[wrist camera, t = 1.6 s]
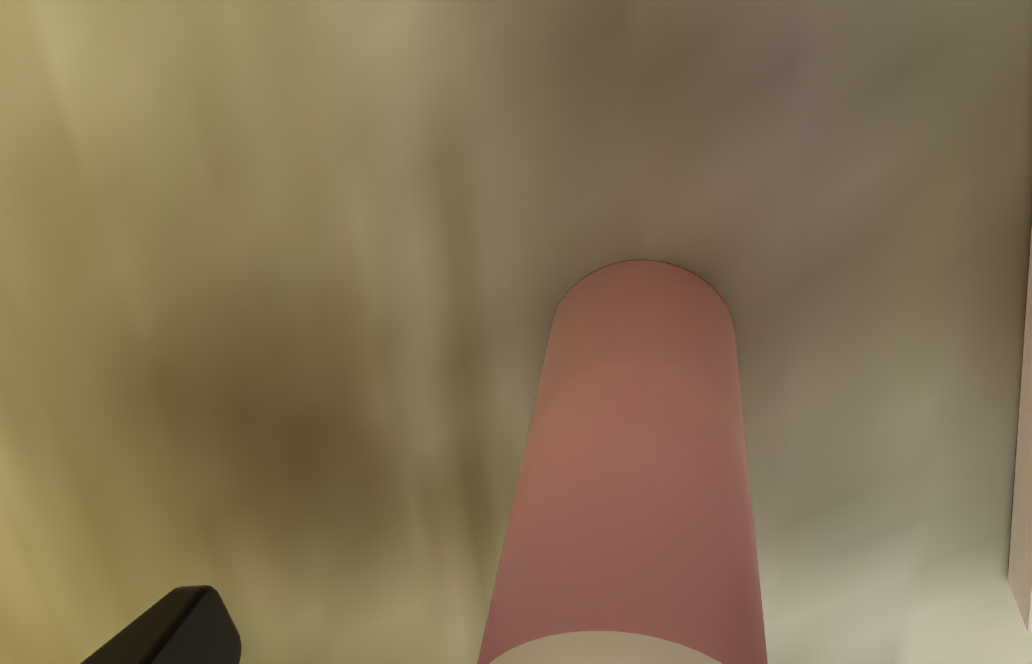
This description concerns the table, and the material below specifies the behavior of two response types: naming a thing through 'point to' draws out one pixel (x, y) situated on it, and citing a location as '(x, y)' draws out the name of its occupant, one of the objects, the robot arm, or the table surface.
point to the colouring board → (1023, 480)
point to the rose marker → (633, 486)
